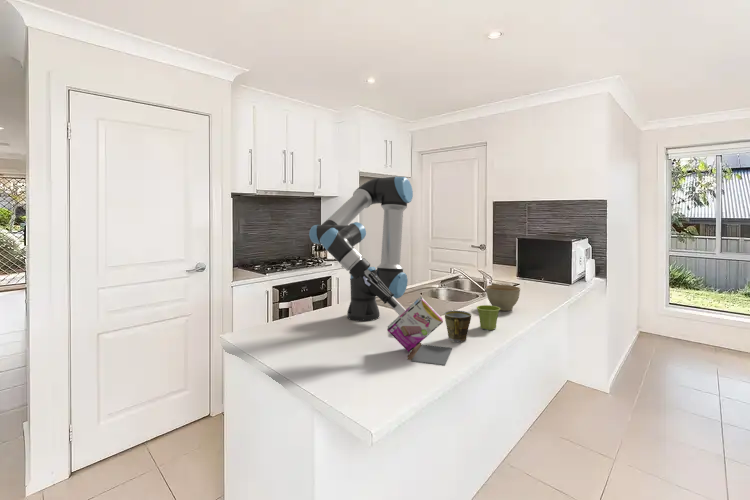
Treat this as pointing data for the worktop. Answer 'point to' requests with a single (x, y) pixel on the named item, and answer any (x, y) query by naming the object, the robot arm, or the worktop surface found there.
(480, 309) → the plant pot
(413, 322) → the candy bar box
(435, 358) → the mat
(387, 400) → the worktop surface
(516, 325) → the worktop surface
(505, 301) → the planter bowl
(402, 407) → the worktop surface
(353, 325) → the worktop surface
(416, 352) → the strip
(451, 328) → the ceramic cup
